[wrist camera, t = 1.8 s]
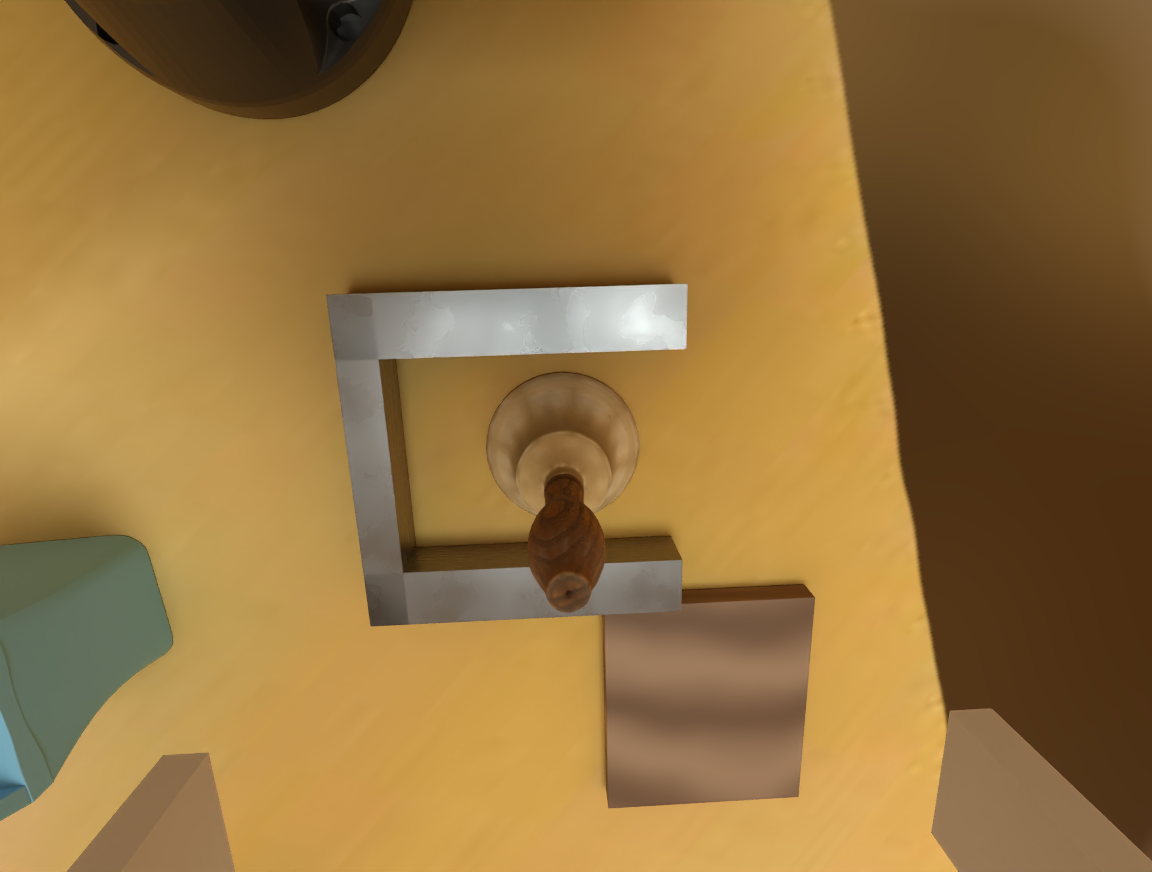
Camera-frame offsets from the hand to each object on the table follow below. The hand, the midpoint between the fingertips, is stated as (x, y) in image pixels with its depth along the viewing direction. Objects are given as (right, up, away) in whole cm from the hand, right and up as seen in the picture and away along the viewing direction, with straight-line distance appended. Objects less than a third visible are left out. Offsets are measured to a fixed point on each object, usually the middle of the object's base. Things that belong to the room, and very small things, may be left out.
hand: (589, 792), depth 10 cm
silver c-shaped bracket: (-3, +6, +21) cm, 22 cm away
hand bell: (-1, +6, +22) cm, 22 cm away
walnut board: (+8, -9, +26) cm, 28 cm away
